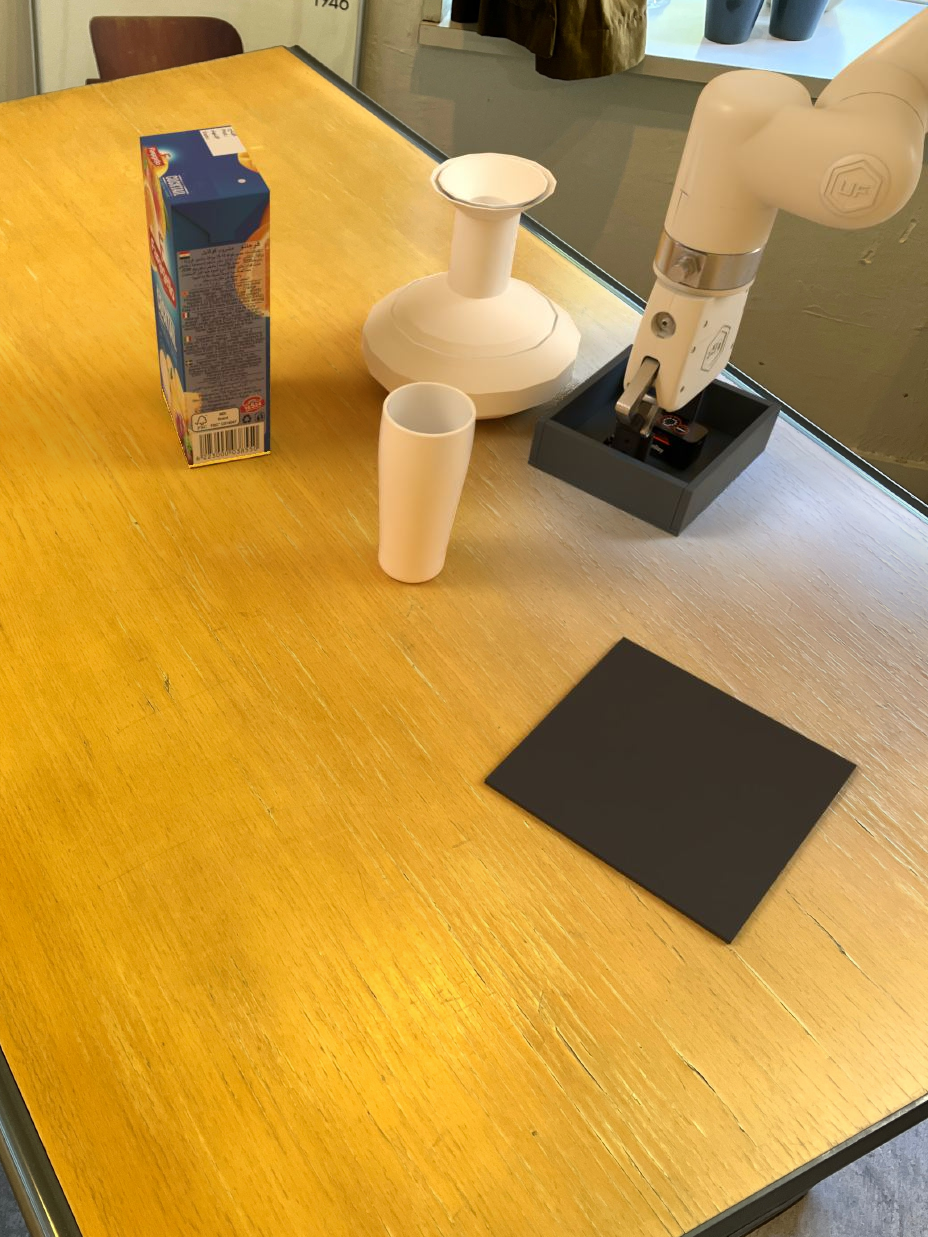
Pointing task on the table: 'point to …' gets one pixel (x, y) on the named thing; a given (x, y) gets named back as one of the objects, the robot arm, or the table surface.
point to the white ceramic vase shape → (478, 300)
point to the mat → (674, 785)
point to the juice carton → (210, 289)
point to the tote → (656, 487)
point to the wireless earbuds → (673, 438)
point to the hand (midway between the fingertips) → (650, 442)
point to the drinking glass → (421, 476)
